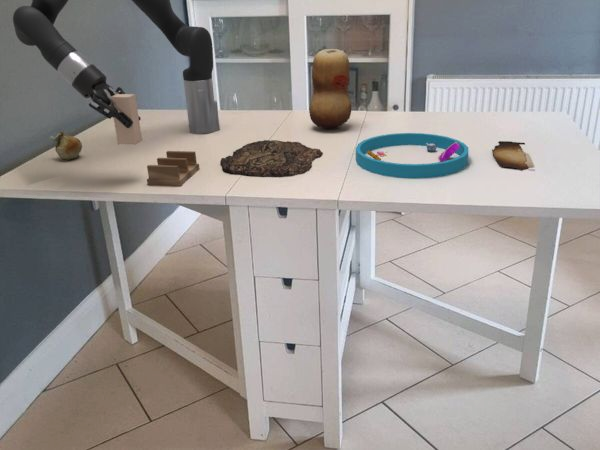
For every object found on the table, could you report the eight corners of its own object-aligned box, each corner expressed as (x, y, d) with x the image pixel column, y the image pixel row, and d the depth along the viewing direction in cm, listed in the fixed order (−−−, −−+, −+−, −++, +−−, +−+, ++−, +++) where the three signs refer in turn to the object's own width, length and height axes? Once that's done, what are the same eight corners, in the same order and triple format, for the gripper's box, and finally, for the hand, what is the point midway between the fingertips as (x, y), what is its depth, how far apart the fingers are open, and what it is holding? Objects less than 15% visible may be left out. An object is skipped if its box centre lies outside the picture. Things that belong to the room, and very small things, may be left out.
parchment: (536, 171, 149) (536, 168, 149) (495, 169, 151) (495, 166, 151) (525, 145, 171) (525, 142, 171) (489, 143, 174) (490, 140, 173)
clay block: (124, 140, 153) (116, 94, 148) (142, 140, 152) (135, 94, 147) (118, 144, 150) (110, 97, 145) (136, 144, 149) (128, 97, 144)
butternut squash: (324, 136, 186) (322, 54, 176) (302, 127, 197) (299, 50, 187) (360, 128, 192) (360, 49, 182) (337, 120, 203) (336, 45, 193)
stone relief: (205, 158, 156) (250, 129, 182) (207, 174, 158) (251, 143, 184) (298, 165, 148) (332, 133, 174) (299, 182, 150) (332, 148, 176)
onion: (61, 164, 170) (55, 137, 167) (53, 158, 176) (48, 131, 173) (87, 158, 174) (82, 132, 171) (79, 152, 180) (74, 127, 177)
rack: (168, 168, 163) (166, 150, 161) (199, 168, 161) (197, 151, 159) (147, 185, 151) (144, 166, 149) (180, 186, 149) (178, 167, 147)
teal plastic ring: (472, 181, 146) (473, 158, 143) (350, 178, 151) (350, 156, 149) (463, 146, 172) (465, 126, 170) (360, 145, 178) (360, 125, 175)
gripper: (74, 68, 138) (129, 120, 141) (104, 59, 151) (155, 106, 154) (58, 91, 142) (113, 141, 144) (89, 80, 154) (139, 126, 157)
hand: (134, 123), depth 149 cm, fingers closed on clay block, 3 cm apart
